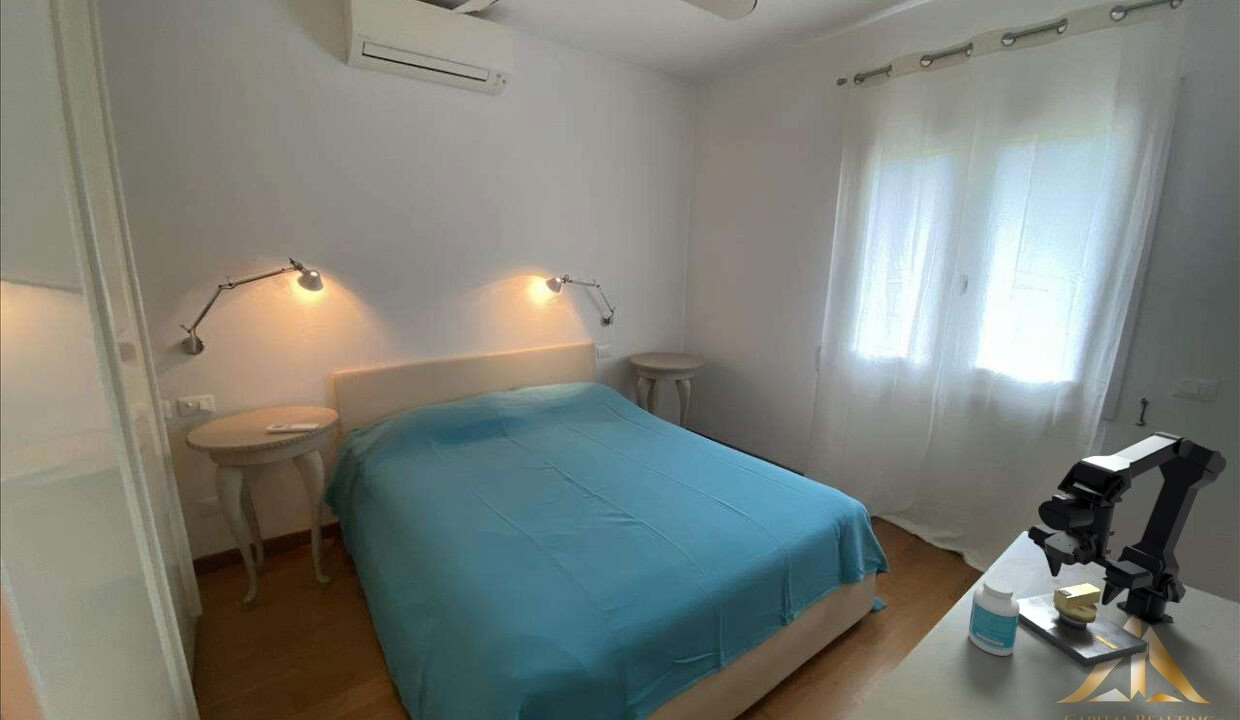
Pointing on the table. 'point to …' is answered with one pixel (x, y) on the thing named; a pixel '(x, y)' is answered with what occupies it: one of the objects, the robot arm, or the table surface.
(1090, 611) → the brass lock knob
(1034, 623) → the lock base
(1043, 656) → the table surface
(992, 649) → the pill bottle
